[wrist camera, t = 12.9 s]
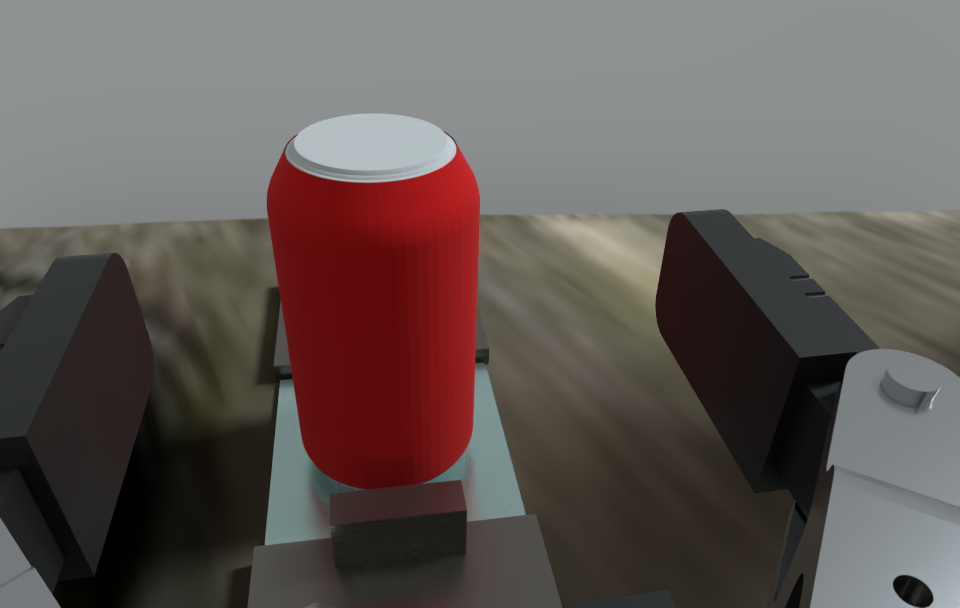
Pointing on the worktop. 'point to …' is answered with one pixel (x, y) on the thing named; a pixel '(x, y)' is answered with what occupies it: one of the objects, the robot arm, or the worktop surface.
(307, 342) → the beverage can
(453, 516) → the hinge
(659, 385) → the worktop surface
